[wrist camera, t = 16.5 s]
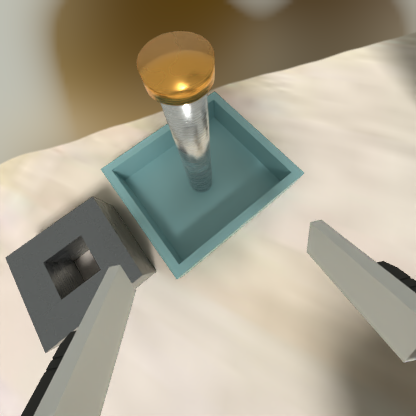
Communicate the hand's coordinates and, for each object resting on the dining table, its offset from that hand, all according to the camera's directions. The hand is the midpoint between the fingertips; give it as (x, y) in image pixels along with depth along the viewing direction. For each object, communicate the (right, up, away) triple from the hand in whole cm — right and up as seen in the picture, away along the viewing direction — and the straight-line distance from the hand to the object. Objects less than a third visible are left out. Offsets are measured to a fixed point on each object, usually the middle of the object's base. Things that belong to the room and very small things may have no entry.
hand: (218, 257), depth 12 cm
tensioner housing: (-15, -4, +10) cm, 18 cm away
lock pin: (-2, +7, +11) cm, 13 cm away
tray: (-2, +7, +12) cm, 14 cm away
